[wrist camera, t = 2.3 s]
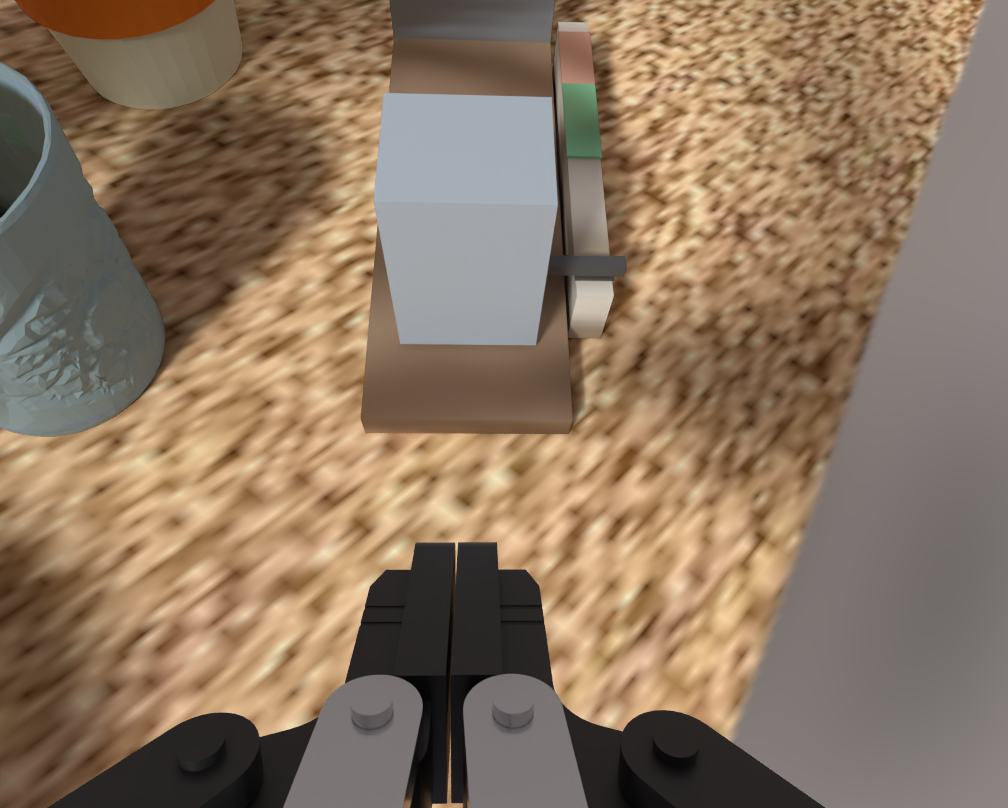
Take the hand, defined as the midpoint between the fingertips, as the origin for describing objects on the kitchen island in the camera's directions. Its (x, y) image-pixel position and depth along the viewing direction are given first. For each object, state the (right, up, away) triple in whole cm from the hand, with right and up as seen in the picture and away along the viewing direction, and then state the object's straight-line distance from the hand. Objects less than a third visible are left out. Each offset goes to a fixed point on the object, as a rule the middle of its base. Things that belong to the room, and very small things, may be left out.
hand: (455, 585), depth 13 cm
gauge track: (-1, +15, +24) cm, 28 cm away
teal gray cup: (-19, +6, +19) cm, 27 cm away
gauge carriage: (+1, +10, +20) cm, 22 cm away
